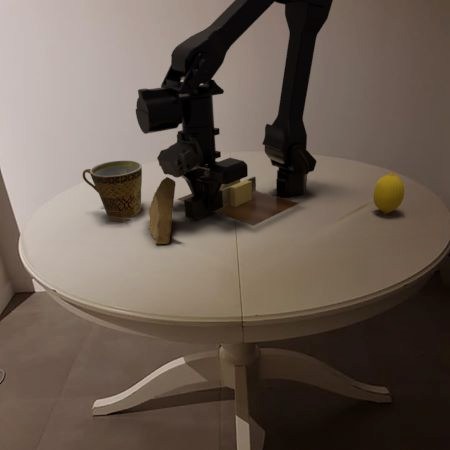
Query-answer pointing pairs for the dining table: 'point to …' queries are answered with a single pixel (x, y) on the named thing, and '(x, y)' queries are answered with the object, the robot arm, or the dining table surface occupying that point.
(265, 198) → the butter board
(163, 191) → the rock
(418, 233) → the dining table surface
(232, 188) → the butter slice
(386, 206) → the lemon
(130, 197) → the ceramic cup
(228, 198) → the knife
